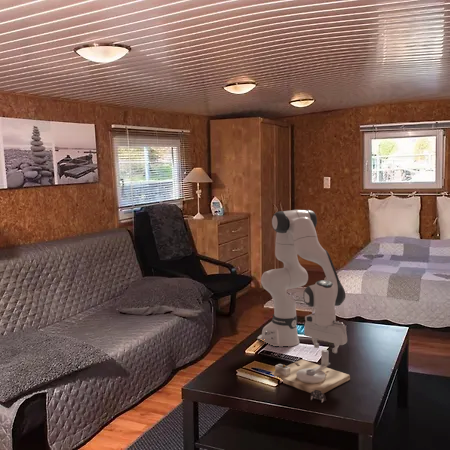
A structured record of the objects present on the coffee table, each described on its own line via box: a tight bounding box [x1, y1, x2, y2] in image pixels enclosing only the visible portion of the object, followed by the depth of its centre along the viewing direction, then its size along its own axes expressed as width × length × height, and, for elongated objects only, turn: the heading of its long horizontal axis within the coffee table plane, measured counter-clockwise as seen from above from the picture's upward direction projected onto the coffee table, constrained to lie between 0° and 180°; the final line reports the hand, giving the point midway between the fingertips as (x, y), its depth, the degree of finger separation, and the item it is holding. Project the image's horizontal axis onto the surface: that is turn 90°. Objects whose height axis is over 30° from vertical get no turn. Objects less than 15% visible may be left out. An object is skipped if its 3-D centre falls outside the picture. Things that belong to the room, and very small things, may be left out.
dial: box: [296, 349, 331, 384], centre depth 222 cm, size 20×12×9 cm, turn 133°
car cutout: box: [309, 390, 327, 403], centre depth 202 cm, size 15×7×4 cm, turn 55°
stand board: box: [269, 358, 351, 395], centre depth 224 cm, size 26×22×6 cm
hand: (325, 350), depth 226 cm, fingers open, 8 cm apart
